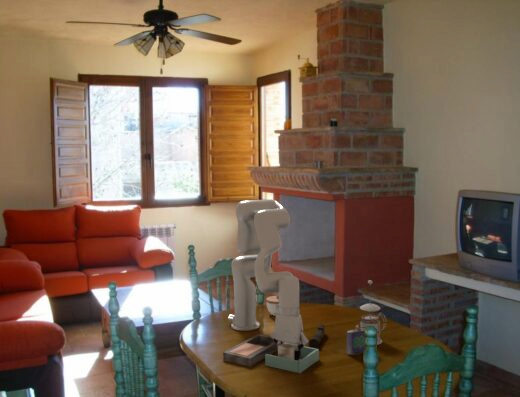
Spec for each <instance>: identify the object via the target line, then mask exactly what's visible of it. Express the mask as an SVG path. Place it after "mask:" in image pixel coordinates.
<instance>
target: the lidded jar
mask: <svg viewBox="0 0 520 397" xmlns="http://www.w3.org/2000/svg"><path fill="white" fill-rule="evenodd" d="M265 301H266V308H267V310H268V313H270V315H271V316H272V315H273V316H272V317H276V314H277V313H278V309H276V305H279V294H277V295H272V296H267V297H266V298H265Z"/></svg>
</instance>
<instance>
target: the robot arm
mask: <svg viewBox="0 0 520 397" xmlns="http://www.w3.org/2000/svg"><path fill="white" fill-rule="evenodd" d="M235 216H236V219H237V235H236V251H237V253H238V254H240V255H239V256H236V257H235V258H233V259H232V261H231V266H230V267H231V273H232V279H233V299H234V301H233V302H234V304H233V305H234V307H233V308H234V314H232V313H231V314H229V315H228V317H227V320H228V321H232V323H231V325H230V327H231V329H233V330H236V331H241V332H242V331H243V332H244V331H245V332H246V331H247V332H248V331H255V330H257V329H258V328H260V322H259V321H257V304H256V303H257V296H256V295H257V294H256V292H257V289H256V285H257V288H258V290H259V291H260V292H261V293H262V294H267V295H269V294H273V293H274V294H276V293H277V294H278V295H279V305H276V309H278V313H277V314H276V316H275V319H274V328H273V331H272V333H270V335H269V336H271V337H272V338H273V339H274V342H275V343H276V344H277V347H278V346H279V345H281V344H282V343H283V342H287V343H292V344H294V346H295V349H296V350H295V351H294V360H297V361H298V360H299V359H300V360H301V358H302V357H301V349H302V348H303V347H304V346H305V347H306V345H307V344H309V339H308V338H307V337H306V335H305V334H304V327H303V326H304V325H303V318H302V314H300V280H299V278H298V277H297V276H296V275H295V276H294V275H293V273H292V272H291V271H287V270H285V271H276V272H275V271H273V272H271V268H272V261H273V254H275V253H276V252H278V251H279V250H280V249H281V248H282V247H283V242H282V238H281V235H280V232H279V231H280V230H288V229H289V228H290V226H291V217H290V214H289V212H288V210H287V209H286V208H285V207H284V206H283V205H282V204H281V203H280V202H279V201H277V200H276V199H251V200H250V199H249V200H241V201H239V202H238V203H237V204H236V207H235ZM251 278H255V281H256V285H255V283H254V282H253V281H252V279H251ZM301 341H302V342H301Z"/></svg>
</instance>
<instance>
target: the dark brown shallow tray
mask: <svg viewBox="0 0 520 397" xmlns="http://www.w3.org/2000/svg"><path fill="white" fill-rule="evenodd" d="M283 343H284V342H283ZM275 352H278V347H277V344H276V343H275V342H274V339H273V338H272V337H271V336H270V335H266V334H265V335H264V334H260V333H257V334H255V335H254V336H252V337H250V338H247V339H246V340H244V341H242V342H240V343H238V344H236V345H234V346H233V347H231V348H229V349H227V350H225V351H223V352H222V356H223V358H222V360H223V361H225V362H228V363H229V362H230V363H232V364H233V363H234V364H238V365H243V366H246V367H247V366H248V367H252V366H254V365H255V364H257V363H259V362H261V361H262V360H264V359H265V354H269V355H273V354H274V353H275Z"/></svg>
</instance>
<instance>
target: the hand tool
mask: <svg viewBox="0 0 520 397" xmlns="http://www.w3.org/2000/svg"><path fill="white" fill-rule="evenodd" d="M324 337H325V325H324V324H319V326H318V327H317V330H316V332H315V333H314V334H313V336H312V337H311V339H308V341H309V342H308V347H310V348H315V349H319V345H320V343H321V342H322V339H324Z"/></svg>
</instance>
